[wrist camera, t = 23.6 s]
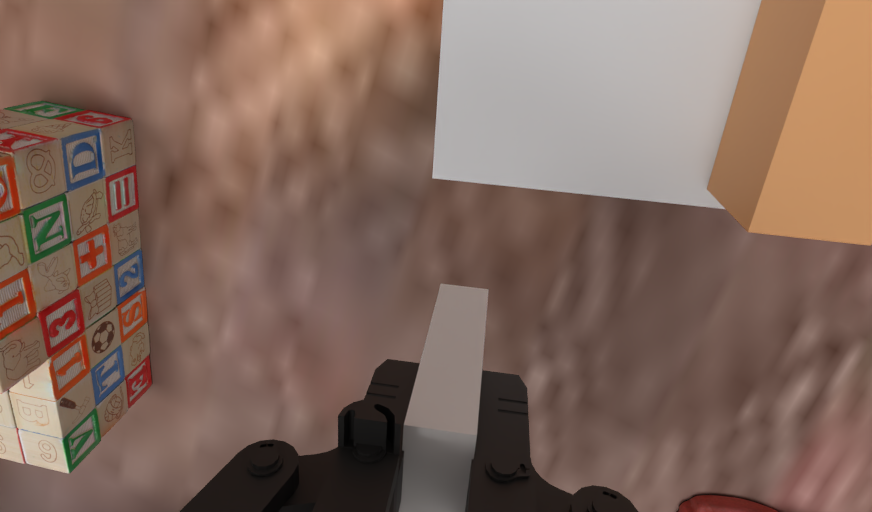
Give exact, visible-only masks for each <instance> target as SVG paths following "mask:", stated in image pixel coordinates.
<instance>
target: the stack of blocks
mask: <svg viewBox="0 0 872 512" xmlns="http://www.w3.org/2000/svg"><path fill="white" fill-rule="evenodd" d="M135 163H136V158H135V143H134V130H133V121H132V119H130V118H126V117H121V116H116V115H111V114H106V113H101V112H96V111H91V110H82V109H78V108H73V107H68V106H63V105H59V104H54V103H49V102H45V101H38V102H33V103H27V104H23V105H18V106H13V107H8V108H4V109H2V110H0V458H3V459H7V460H11V461H15V462H19V463H23V464H24V463H28V464H31V465H35V466H39V467H43V468H47V469H52V470H56V471H60V472H64V473H71V472H72V471H73V470H74V469H75V468H76V467H77V466H78V464H79V463H80V462H81V461H82V460H83V459H84V458H85V457H86V456H87V455H88V454H89V453H90V452H91V451H92V450H93V449H94V448H95V447H96V446H97V445H98V444H99V442H100V441H101V438H102V437H103V436H104V435H105V434H106V433H107V432H108V431H109V430H110V429H111V428H112V427H113V426H114V425H115V424H116V423H117V422H118V421H119V420H120V419H121V417H122V416H123V415H124V414H125V413H126V412H127V411H128V409H129V408H130V407H131V406H132V405H133V404H134V403H135V402H136V401H137V400H138V399H139V398H140V397H141V396H142V395H143V394H144V393H145V392H146V391H147V390H148V388H149V387H150V386H151V385H152V379H151V369H150V360H149V354H150V342H149V330H148V323H147V301H146V288H145V287H144V275H143V262H142V250H141V240H140V227H139V215H138V208H139V203H138V189H137V176H136V165H135Z"/></svg>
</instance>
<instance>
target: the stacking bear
mask: <svg viewBox="0 0 872 512" xmlns="http://www.w3.org/2000/svg"><path fill="white" fill-rule="evenodd" d="M678 512H778V511H776V510H774V509H772V508H769V507H767V506H764V505H761V504H758V503H755V502H752V501H748V500H744V499H740V498H734V497H727V496H716V495H700V496H695V497H693V498H691V499H690V500H688V501H685V502H683V503H682V504H681V505H680V507H679V511H678Z"/></svg>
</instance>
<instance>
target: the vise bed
mask: <svg viewBox="0 0 872 512" xmlns="http://www.w3.org/2000/svg"><path fill="white" fill-rule="evenodd" d="M761 1H762V0H444V3H443V19H442V34H441V50H440V66H439V82H438V98H437V113H436V129H435V145H434V161H433V176H432V178H435V179H445V180H454V181H464V182H473V183H483V184H492V185H502V186H511V187H521V188H530V189H540V190H549V191H559V192H568V193H577V194H587V195H596V196H606V197H615V198H625V199H634V200H644V201H653V202H663V203H672V204H682V205H691V206H701V207H710V208H720V209H725V208H724V207H723V206H722V205H721V204H720V203H719V202H718V200H717V199H716V198H715V197H714V196H713V195H712V194H711V193H710V192H709V191H708V190H707V187H708V183H709V180H710V176H711V173H712V169H713V166H714V162H715V159H716V156H717V152H718V149H719V145H720V142H721V138H722V135H723V131H724V128H725V125H726V121H727V118H728V114H729V111H730V107H731V104H732V101H733V97H734V94H735V90H736V87H737V83H738V80H739V76H740V73H741V70H742V66H743V63H744V59H745V56H746V52H747V49H748V45H749V42H750V39H751V35H752V32H753V28H754V25H755V21H756V18H757V14H758V11H759V8H760V4H761Z"/></svg>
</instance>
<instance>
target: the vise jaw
mask: <svg viewBox="0 0 872 512" xmlns="http://www.w3.org/2000/svg"><path fill="white" fill-rule="evenodd" d="M707 190H708V191H709V192H710V193H711V194H712V195H713V196H714V197H715V198H716V199H717V200H718V202H719V203H720V204H721V205H722V206H723V207H724V208H725V209H726V210H727V211H728V212H729V213H730V214H731V215H732V216H733V217H734V218H735V219H736V220H737V221H738V222H739V223H740V224H741V225H742V226H743V228H744V229H745V230H746V231H747V232H751V233H760V234H769V235H778V236H787V237H797V238H806V239H815V240H824V241H833V242H842V243H852V244H861V245H870V246H871V244H872V0H762V1H761V4H760V8H759V11H758V14H757V18H756V21H755V25H754V28H753V32H752V35H751V39H750V42H749V45H748V49H747V52H746V56H745V59H744V63H743V66H742V70H741V73H740V76H739V80H738V83H737V87H736V90H735V94H734V97H733V101H732V104H731V107H730V111H729V114H728V118H727V121H726V125H725V128H724V131H723V135H722V138H721V142H720V145H719V149H718V152H717V156H716V159H715V162H714V166H713V169H712V173H711V176H710V180H709V183H708V187H707Z"/></svg>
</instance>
